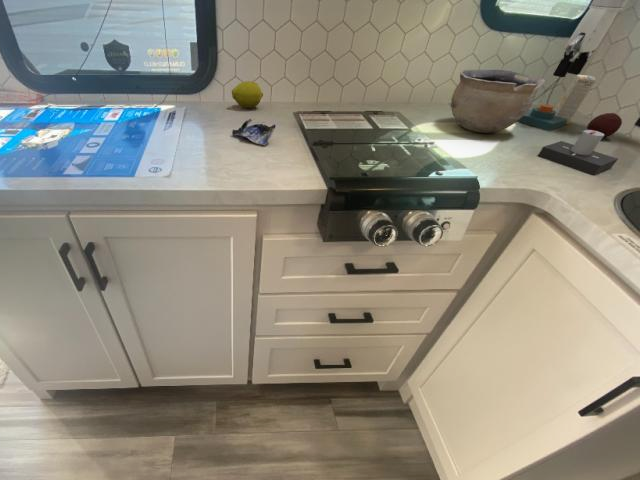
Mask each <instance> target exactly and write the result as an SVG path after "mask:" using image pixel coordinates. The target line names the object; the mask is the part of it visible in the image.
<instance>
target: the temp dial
mask: <svg viewBox="0 0 640 480" xmlns="http://www.w3.org/2000/svg"><path fill="white" fill-rule="evenodd" d="M603 136H604V134H603V133H601V132H598V131H593V130H587V129H584V130H583V131H582V132H581V134H580V135H579V137H578V138H577V140H576V141H575V142H574V144H573V145H574V146H573V147H572V148H571V151H572V152H573V153H576V154H579V155H590V154H591V153H592V151H595V149H596V148H597V146H598V145H599V143H600V142H601V141H602V139H604V138H603Z"/></svg>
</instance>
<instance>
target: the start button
mask: <svg viewBox="0 0 640 480" xmlns="http://www.w3.org/2000/svg"><path fill="white" fill-rule="evenodd" d="M539 107H540V108H539V109H538V110H539V111H543V112H551V111H552V110H554V105H551V104H547V103H546V104H545V103H543V104H540V106H539Z"/></svg>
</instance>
